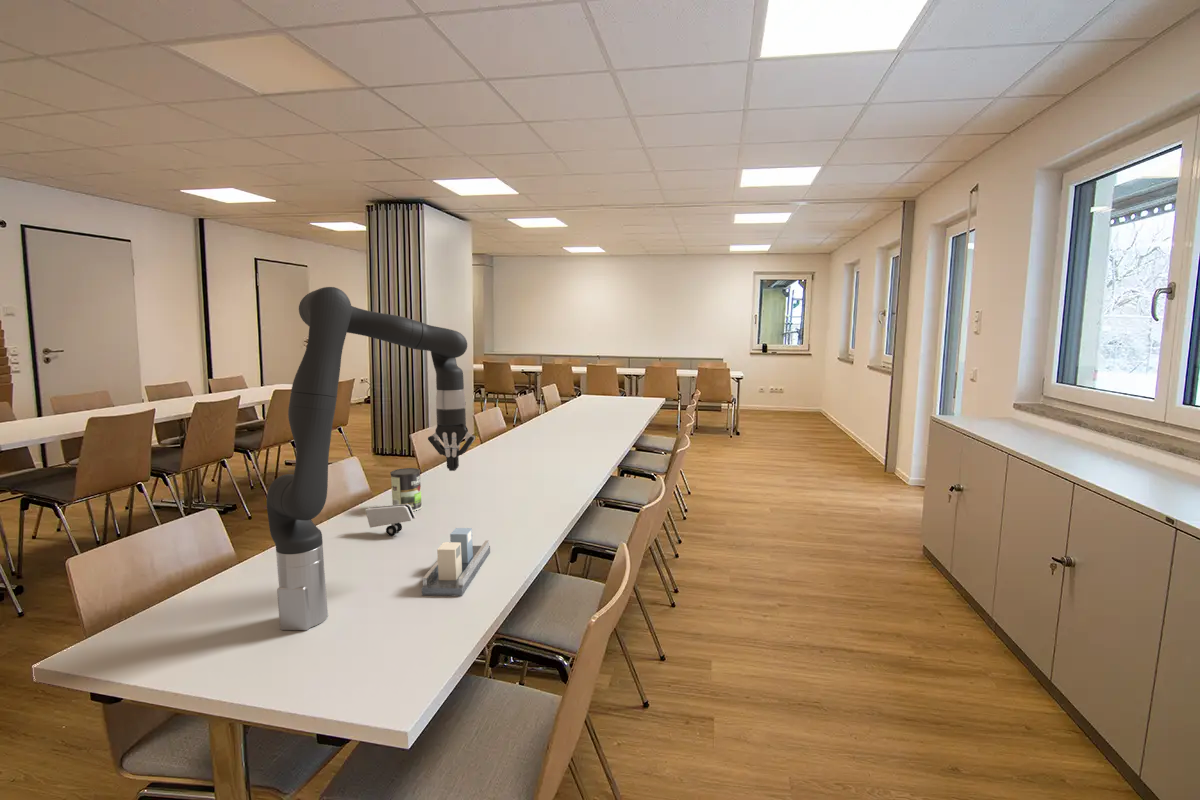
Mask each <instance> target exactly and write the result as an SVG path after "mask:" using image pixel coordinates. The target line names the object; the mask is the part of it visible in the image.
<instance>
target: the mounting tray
mask: <svg viewBox="0 0 1200 800" xmlns="http://www.w3.org/2000/svg"><path fill="white" fill-rule="evenodd" d="M490 554H491V545H490V540H487V539H486V540H484V542H483V543H482V545H473V556H472V558H471V559H470V561H469V562H468V563H462V573H461V574H460V576H459V577H458V579H457V580H439V575H438V560H437V561H436V562H435V563H434V564H433V565H432V567H431V568H429V570H428V571H427V572H426V573H425V575H424V576H423V577H422V587H421V596H428V597H430V596H434V597H436V596H437V597H463V596H464V594H465V592H466V591H467V590H468V588H469V586H470V584H471V583H472V581H473V580H474V578H476V575H477V574H478V572H479V570H480V569H481V568H482V566H483V564H484V563H485V561H486V560H487V558H488V557H489V555H490ZM480 567H481V568H480Z"/></svg>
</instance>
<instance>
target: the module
mask: <svg viewBox="0 0 1200 800" xmlns="http://www.w3.org/2000/svg"><path fill="white" fill-rule="evenodd" d="M472 528H473V527H455V528H454V529H453V531H452V532H451V533H450V534H449V537H450V542H461V558H462V563H468V562H469V561H470V559H471V558H472V556H473V546H474V545H473V529H472Z"/></svg>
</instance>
